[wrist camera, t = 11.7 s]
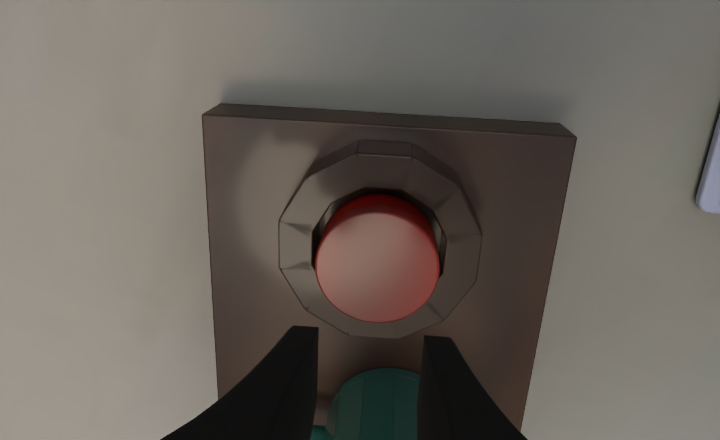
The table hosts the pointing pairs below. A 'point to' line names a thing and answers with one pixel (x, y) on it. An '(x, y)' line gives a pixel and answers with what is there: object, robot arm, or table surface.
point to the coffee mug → (373, 407)
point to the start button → (377, 259)
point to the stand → (397, 178)
